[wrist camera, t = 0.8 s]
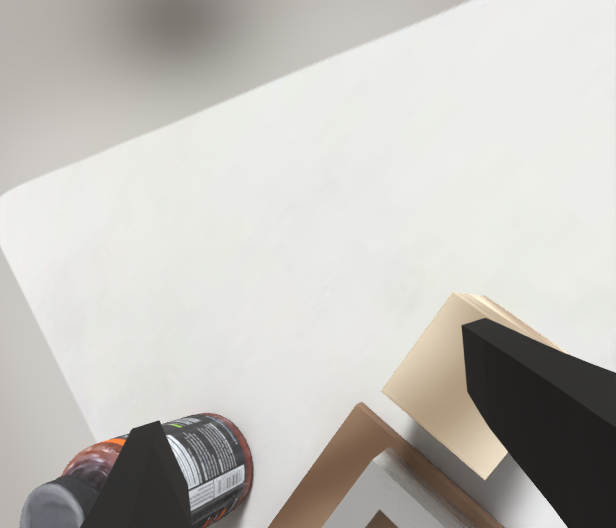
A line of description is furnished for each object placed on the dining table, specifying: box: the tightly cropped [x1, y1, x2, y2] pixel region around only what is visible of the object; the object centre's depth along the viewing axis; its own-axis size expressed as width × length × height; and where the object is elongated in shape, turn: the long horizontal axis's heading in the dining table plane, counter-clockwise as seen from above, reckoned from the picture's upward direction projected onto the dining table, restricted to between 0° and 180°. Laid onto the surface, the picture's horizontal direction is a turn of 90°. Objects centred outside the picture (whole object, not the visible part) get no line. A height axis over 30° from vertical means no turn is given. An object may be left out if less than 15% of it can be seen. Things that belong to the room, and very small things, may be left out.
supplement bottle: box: [20, 413, 252, 528], centre depth 26 cm, size 6×6×11 cm
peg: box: [381, 293, 570, 480], centre depth 21 cm, size 4×4×8 cm
